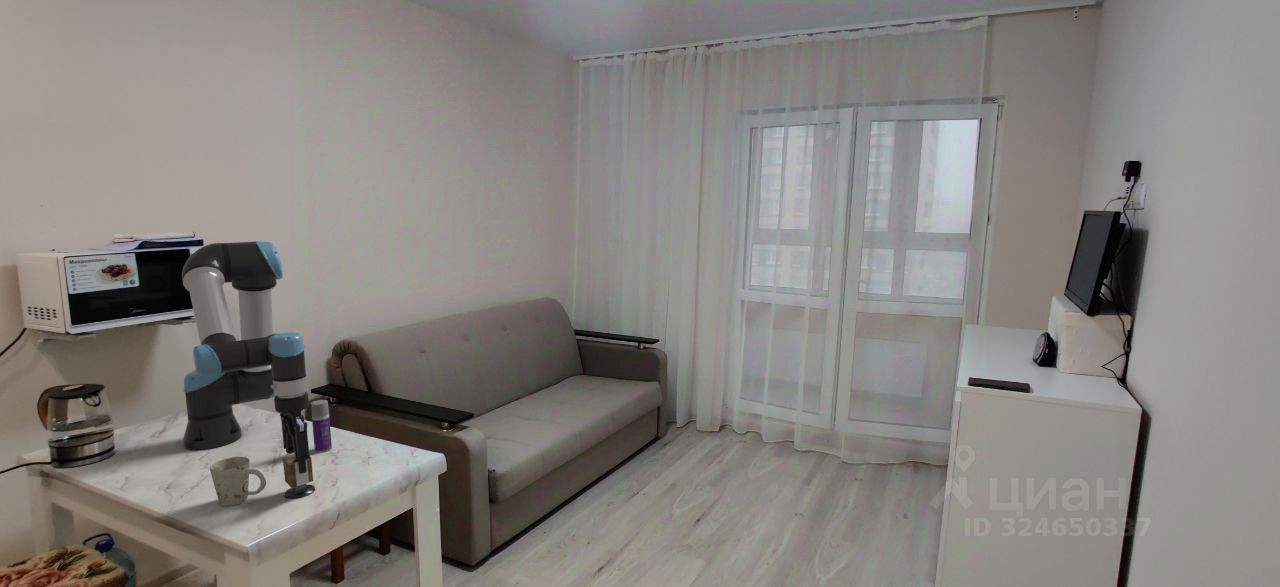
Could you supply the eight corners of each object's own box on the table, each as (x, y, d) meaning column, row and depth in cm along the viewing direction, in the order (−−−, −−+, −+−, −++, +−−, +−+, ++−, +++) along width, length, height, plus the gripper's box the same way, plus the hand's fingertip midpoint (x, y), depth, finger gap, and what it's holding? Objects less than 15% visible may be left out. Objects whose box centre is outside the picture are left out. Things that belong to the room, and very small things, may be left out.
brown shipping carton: (284, 481, 160) (282, 457, 159) (306, 474, 164) (304, 451, 163) (291, 487, 157) (288, 463, 156) (313, 481, 160) (311, 457, 159)
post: (280, 492, 161) (278, 466, 160) (309, 483, 166) (307, 458, 165) (289, 501, 156) (286, 475, 155) (318, 492, 161) (316, 466, 160)
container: (324, 453, 185) (320, 405, 183) (311, 451, 186) (306, 404, 184) (335, 447, 190) (331, 400, 188) (322, 445, 191) (318, 399, 188)
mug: (226, 493, 160) (222, 457, 159) (276, 491, 161) (273, 455, 160) (206, 509, 152) (202, 471, 150) (260, 507, 153) (256, 469, 151)
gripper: (264, 389, 160) (272, 474, 164) (285, 405, 148) (294, 496, 151) (295, 383, 166) (303, 465, 169) (319, 398, 153) (326, 486, 156)
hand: (298, 480), depth 160 cm, fingers closed on brown shipping carton, 5 cm apart
